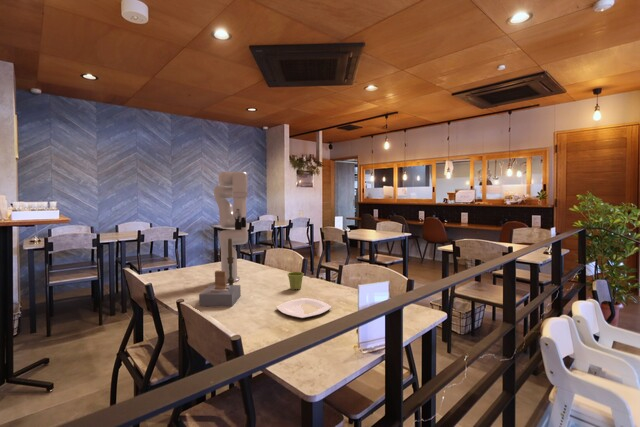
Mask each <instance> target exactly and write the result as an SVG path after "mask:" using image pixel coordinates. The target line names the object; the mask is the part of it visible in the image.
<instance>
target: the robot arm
mask: <svg viewBox="0 0 640 427" xmlns="http://www.w3.org/2000/svg"><path fill="white" fill-rule="evenodd" d="M217 179H218V183H219V185H216V186H215V187H213V196H214V200H215V202H216V205H217V206H218V207H217V208H218V214H219V224H220V227H221V228H222V229H224V230H221V231H220V232H219V234H218V238H219V240H218V241H219V245H220V265H221V267H220V268H221V270H220V271H226V284H227V283H228V284H229V282H228V279H229V276H230V275H229V264H228V262H227V261H228V260H227V258H228V239H232V257H234V259H233V263H232V277H233V278H234V282H233V283H237V282H239V281H240V280H241V278H240V276H238V252H237V250H236V249H235V247H234V246H236V245H245V244H247V243H248V241H249V233H248V225H247V224H248V223H247V199H248V173H247V172H246V171H221V172H219V173H218V178H217ZM228 199H233V204H232V203H231V202H230V200H228Z"/></svg>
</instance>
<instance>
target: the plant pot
mask: <svg viewBox="0 0 640 427" xmlns="http://www.w3.org/2000/svg"><path fill="white" fill-rule="evenodd" d="M304 275H305V273H303V272H301V271H292V272H291V271H290V272H288V273H287V276H288V280H289V288H290V290H292V289H296V290H297V289H299V290H301V289H302V286H303V285H302V283H303V278H304ZM300 288H301V289H300Z"/></svg>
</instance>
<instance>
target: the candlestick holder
mask: <svg viewBox="0 0 640 427" xmlns="http://www.w3.org/2000/svg"><path fill="white" fill-rule="evenodd" d="M232 247H233V245H232V239H228V258H227V260H228V261H227V262H228V264H229V275H230V276H229V279H228V282H229V283H228V285H234V283H235V282H234V278H233V277H232V263H233V259H234V257H232Z"/></svg>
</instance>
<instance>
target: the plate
mask: <svg viewBox="0 0 640 427" xmlns="http://www.w3.org/2000/svg"><path fill="white" fill-rule="evenodd" d="M302 304H311V305H315V306H317V307H319V308H320V309H318V310H317V311H315V312H313V313H309V314H304V310H303V309H302V308H303V307H302V308H301V305H302ZM298 305H299V306H298ZM295 306H296V307H295ZM275 308H276V310H278V311H279V312H281V313H282V314H283V315H287V316H289V317H294V318H298V319H305V318H311V317H314V316H315V317H316V316H318V315H322V314H324V313H326V312H327V311H329V310H331V309H332V308H333V307H332V306H331V305H330V304H328V303H327V302H325V301H322V300H319V299H315V298H310V297H309V298H307V297H301V298H295V299H292V300H287V301H285V302H283V303H281V304H279V305H277V306H275Z"/></svg>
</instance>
